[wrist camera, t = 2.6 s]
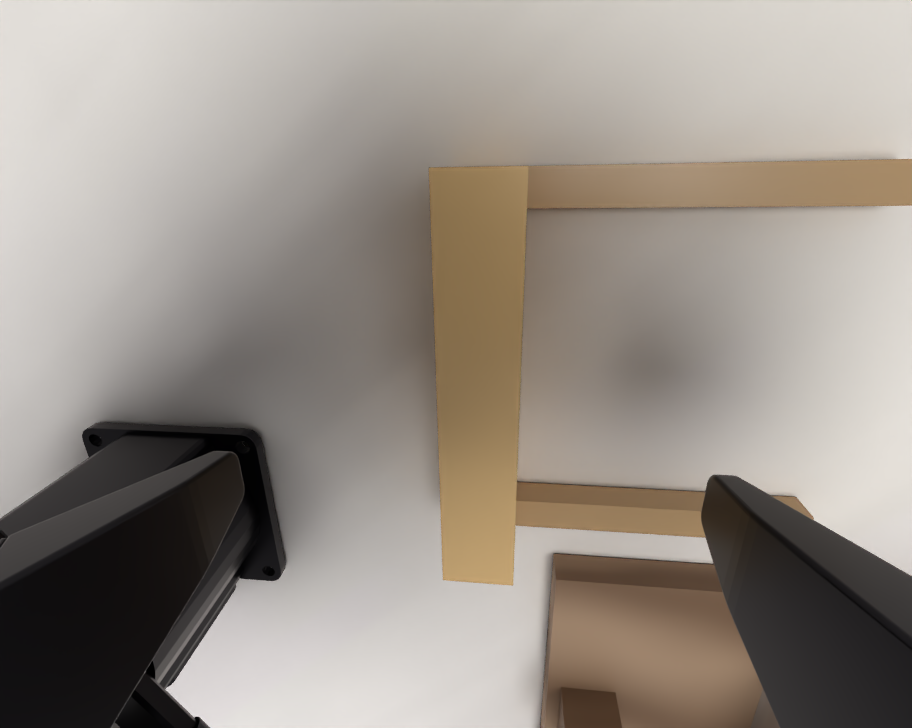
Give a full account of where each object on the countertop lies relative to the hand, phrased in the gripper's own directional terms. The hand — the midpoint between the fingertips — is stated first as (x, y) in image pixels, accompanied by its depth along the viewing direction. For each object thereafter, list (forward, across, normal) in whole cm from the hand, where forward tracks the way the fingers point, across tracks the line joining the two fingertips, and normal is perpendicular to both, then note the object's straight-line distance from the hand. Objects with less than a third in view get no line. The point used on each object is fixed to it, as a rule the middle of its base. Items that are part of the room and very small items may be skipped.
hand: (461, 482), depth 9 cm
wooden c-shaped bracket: (+6, -5, 0) cm, 8 cm away
